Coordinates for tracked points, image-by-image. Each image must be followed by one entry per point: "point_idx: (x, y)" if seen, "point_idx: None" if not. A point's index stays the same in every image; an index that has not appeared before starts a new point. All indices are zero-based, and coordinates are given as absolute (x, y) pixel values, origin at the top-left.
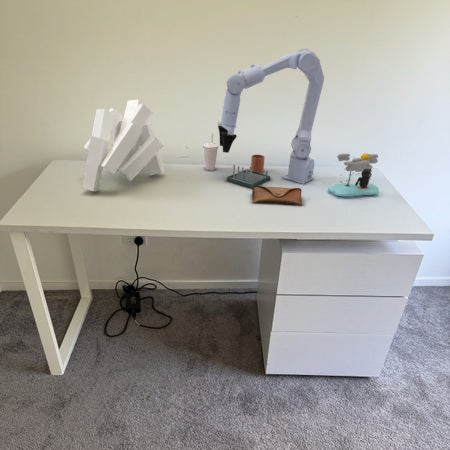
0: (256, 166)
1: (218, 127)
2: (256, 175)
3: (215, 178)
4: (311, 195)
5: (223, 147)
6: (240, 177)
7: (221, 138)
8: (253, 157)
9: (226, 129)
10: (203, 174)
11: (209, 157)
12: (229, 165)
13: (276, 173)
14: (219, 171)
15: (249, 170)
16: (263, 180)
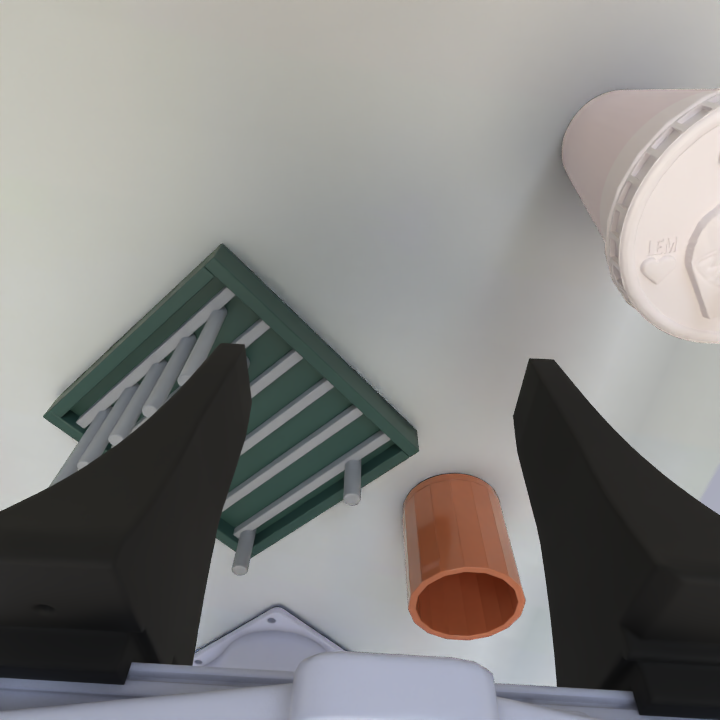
0: (410, 533)
1: (680, 564)
2: (297, 487)
3: (307, 146)
4: None
5: (186, 382)
6: None
7: (561, 446)
8: (445, 572)
9: (587, 650)
10: (450, 22)
11: (604, 151)
12: (650, 351)
13: (381, 595)
14: (509, 227)
15: (386, 469)
16: None
